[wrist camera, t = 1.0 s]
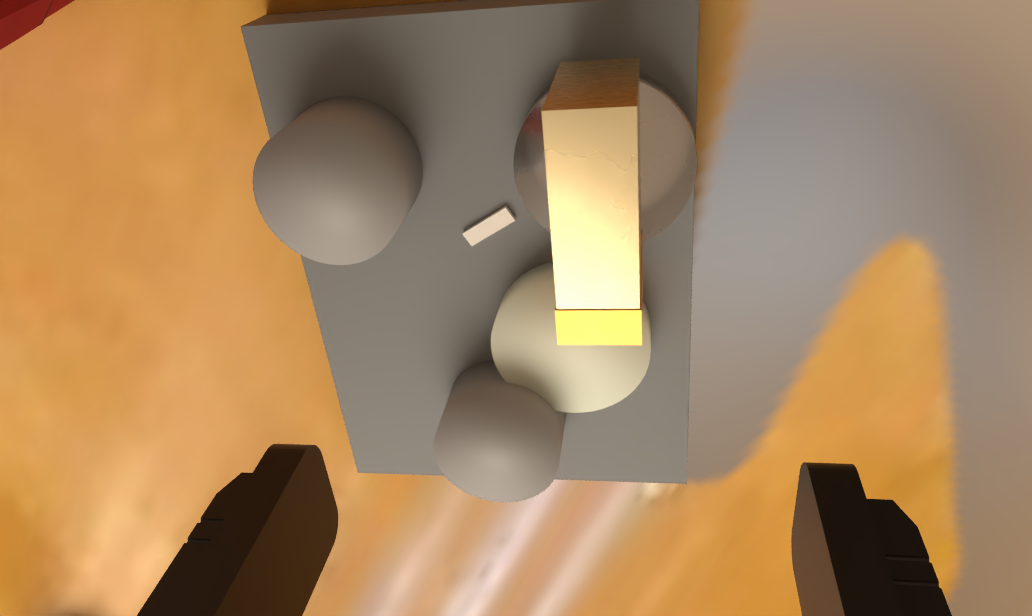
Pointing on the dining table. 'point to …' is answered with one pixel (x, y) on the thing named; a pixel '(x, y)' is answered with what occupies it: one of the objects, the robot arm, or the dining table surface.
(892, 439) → the dining table surface
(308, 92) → the base
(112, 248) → the dining table surface
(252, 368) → the dining table surface
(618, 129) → the wing knob
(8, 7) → the plastic cup
